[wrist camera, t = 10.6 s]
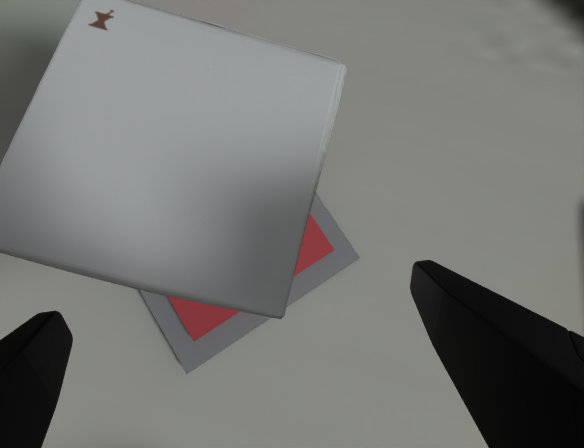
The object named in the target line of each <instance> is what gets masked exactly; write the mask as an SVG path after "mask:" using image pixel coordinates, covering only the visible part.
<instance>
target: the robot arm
mask: <svg viewBox="0 0 584 448" xmlns="http://www.w3.org/2000/svg"><path fill="white" fill-rule="evenodd" d="M410 290H411V294H412V297H413V299H414V302H415V304H416V306H417V309H418V311H419V314H420V316H421V319H422V321H423V323H424V326H425V328H426V331H427V333H428V336H429V338H430V340H431V342H432V345H433V346H434V348H435V350H436V352H437V354H438V356H439V358H440V360H441V361H442V363H443V365H444V367H445V369H446V371H447V372H448V374H449V376H450V378H451V380H452V381H453V383H454V385H455V387H456V389H457V391H458V392H459V394H460V396H461V398H462V400H463V402H464V403H465V405H466V407H467V409H468V411H469V412H470V414H471V416H472V418H473V420H474V422H475V423H476V425H477V427H478V429H479V431H480V433H481V434H482V436H483V438H484V440H485V442H486V443H487V445H488V447H489V448H584V337H582V336H581V335H579V334H577V333H575V332H573V331H568V330H567V329H566V328H564V327H563V326H561V325H559V324H557V323H555V322H553V321H551V320H549V319H547V318H545V317H543V316H541V315H539V314H537V313H535V312H533V311H531V310H529V309H527V308H525V307H523V306H521V305H519V304H517V303H515V302H513V301H511V300H509V299H507V298H505V297H503V296H501V295H499V294H497V293H495V292H493V291H491V290H489V289H487V288H485V287H483V286H481V285H479V284H477V283H475V282H473V281H471V280H469V279H467V278H465V277H463V276H461V275H459V274H457V273H455V272H453V271H451V270H449V269H447V268H445V267H443V266H441V265H440V264H438V263H436V262H434V261H431V260H423V261H417V262H415V263H414V265H413V269H412V276H411V283H410ZM72 343H73V337H72V334H71V331H70V330H69V328H68V326H67V324H66V322H65V320H64V318H63V317H62V315H61V313H59V312H58V311H49V312H42V313H38V314H36V315H35V316H34V317H32V318H31V319H29V320H28V321H27V322H25V323H24V324H22V325H21V326H20V327H18V328H17V329H15V330H14V331H13V332H11V333H10V334H8V335H7V336H6V337H4V338H3V339H1V340H0V448H41V447H42V444H43V441H44V439H45V436H46V433H47V430H48V428H49V425H50V422H51V420H52V417H53V414H54V411H55V408H56V405H57V402H58V398H59V395H60V391H61V387H62V383H63V379H64V375H65V371H66V367H67V363H68V359H69V355H70V351H71V347H72Z"/></svg>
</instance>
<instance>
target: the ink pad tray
mask: <svg viewBox="0 0 584 448" xmlns="http://www.w3.org/2000/svg"><path fill="white" fill-rule="evenodd" d="M359 258H360V257H359V256H358V254H357V253H356V252H355V250H354V249H353V247H352V246H351V244H350V243H349V241H348V240H347V238H346V237H345V235H344V234H343V232H342V231H341V229H340V228H339V226H338V225H337V223H336V222H335V220H334V219H333V217H332V216H331V214H330V213H329V211H328V210H327V209H326V207H325V206H324V204H323V203H322V201H321V200H320V198H319V197H318V195H317V194H316V192H315V196H314V200H313V204H312V208H311V211H310V215H309V219H308V223H307V226H306V230H305V234H304V238H303V242H302V246H301V250H300V254H299V258H298V262H297V266H296V270H295V274H294V278H293V282H292V285H291V289H290V293H289V297H288V301H287V305H286V307H287V306H289V305H290V304H292V303H293V302H295V301H296V300H298V299H299V298H301V297H302V296H304V295H305V294H307V293H308V292H310V291H311V290H313V289H314V288H316V287H317V286H319V285H320V284H322V283H323V282H325V281H326V280H328V279H329V278H331V277H332V276H334V275H335V274H337V273H338V272H340V271H341V270H343V269H344V268H346V267H347V266H349V265H350V264H352V263H353V262H354V261H356V260H357V259H359ZM139 291H140V293H141V294H142V296H143V298H144V300H145V301H146V303H147V305H148V307H149V308H150V310H151V312H152V314H153V316H154V317H155V319H156V321H157V323H158V324H159V326H160V328H161V330H162V331H163V333H164V335H165V337H166V338H167V340H168V342H169V344H170V345H171V347H172V349H173V351H174V353H175V354H176V356H177V358H178V360H179V361H180V363H181V365H182V367H183V368H184V370H185V372H186V374H188V373H189V372H191V371H192V370H194V369H195V368H197V367H198V366H200V365H201V364H203V363H204V362H206V361H207V360H209V359H210V358H212V357H213V356H215V355H216V354H217V353H219V352H220V351H222V350H223V349H225V348H226V347H228V346H229V345H231V344H232V343H234V342H235V341H237V340H238V339H240V338H241V337H243V336H244V335H246V334H247V333H249V332H250V331H252V330H253V329H255V328H256V327H258V326H259V325H261V324H262V323H264V322H265V321H267V320H268V319H270V318H271V317H266V316H261V315H256V314H250V313H245V312H240V311H235V310H230V309H225V308H220V307H215V306H210V305H206V304H201V303H196V302H191V301H187V300H182V299H177V298H173V297H168V296H164V295H160V294H156V293H151V292H147V291H143V290H139Z"/></svg>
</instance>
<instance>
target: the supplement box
mask: <svg viewBox="0 0 584 448" xmlns="http://www.w3.org/2000/svg"><path fill="white" fill-rule="evenodd" d="M346 73H347V67H346V65H345V64H344V63H342V62H341V61H339V60H337V59H334V58H331V57H327V56H324V55H320V54H317V53H314V52H310V51H306V50H302V49H298V48H295V47H291V46H288V45H285V44H281V43H278V42H275V41H271V40H268V39H264V38H261V37H257V36H254V35H250V34H247V33H243V32H240V31H237V30H233V29H230V28H226V27H224V26H221V25H219V24H215V23H212V22H208V21H204V20H199V19H195V18H192V17H188V16H185V15H182V14H178V13H175V12H171V11H167V10H164V9H160V8H157V7H154V6H150V5H147V4H144V3H140V2H137V1H134V0H81V1H80V3H79V5H78V7H77V8H76V10H75V12H74V14H73V16H72V18H71V20H70V22H69V24H68V26H67V28H66V30H65V32H64V34H63V36H62V38H61V40H60V42H59V44H58V46H57V48H56V50H55V53H54V55H53V57H52V59H51V61H50V63H49V65H48V67H47V69H46V71H45V73H44V75H43V77H42V79H41V81H40V83H39V85H38V87H37V90H36V92H35V94H34V96H33V98H32V101H31V103H30V105H29V107H28V109H27V111H26V113H25V115H24V117H23V119H22V121H21V123H20V125H19V127H18V129H17V131H16V133H15V135H14V137H13V140H12V142H11V144H10V146H9V148H8V150H7V152H6V154H5V156H4V158H3V161H2V163H1V165H0V253H3V254H7V255H10V256H14V257H18V258H21V259H25V260H29V261H32V262H36V263H39V264H43V265H47V266H50V267H54V268H58V269H61V270H65V271H68V272H72V273H76V274H80V275H84V276H87V277H91V278H95V279H99V280H103V281H107V282H111V283H115V284H119V285H123V286H127V287H131V288H135V289H139V290H143V291H147V292H151V293H156V294H160V295H164V296H168V297H173V298H177V299H182V300H187V301H191V302H196V303H201V304H206V305H210V306H215V307H220V308H225V309H230V310H235V311H240V312H245V313H250V314H256V315H261V316H266V317H271V318H278V319H281V318H282V317H283V316H284V315H285V310H286V305H287V301H288V297H289V293H290V289H291V285H292V282H293V278H294V274H295V270H296V266H297V262H298V258H299V254H300V250H301V246H302V242H303V238H304V234H305V230H306V226H307V223H308V219H309V215H310V211H311V208H312V204H313V200H314V196H315V192H316V189H317V185H318V181H319V177H320V173H321V170H322V166H323V162H324V158H325V155H326V151H327V147H328V143H329V139H330V136H331V132H332V128H333V124H334V120H335V116H336V112H337V108H338V104H339V100H340V97H341V93H342V89H343V85H344V81H345V77H346Z"/></svg>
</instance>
